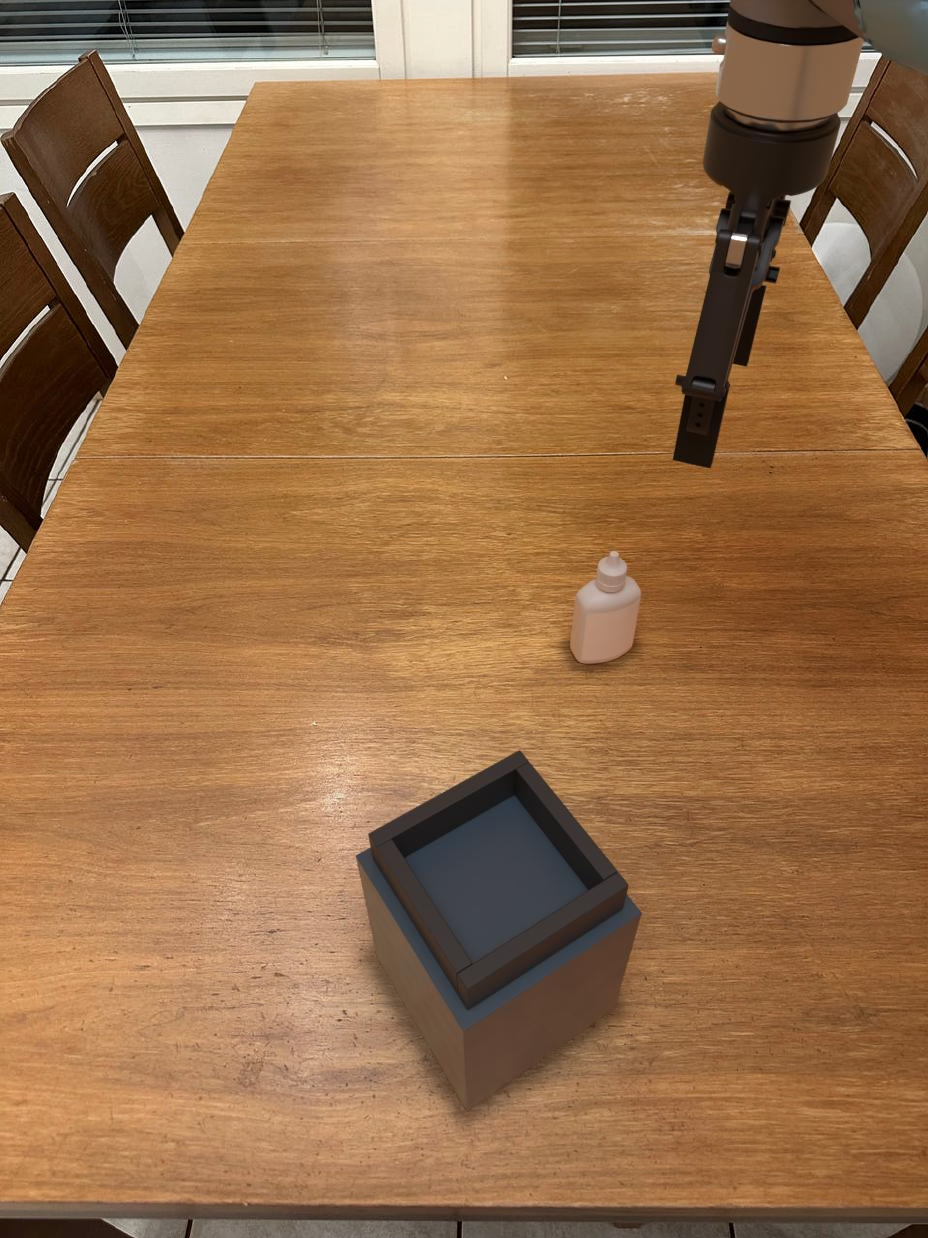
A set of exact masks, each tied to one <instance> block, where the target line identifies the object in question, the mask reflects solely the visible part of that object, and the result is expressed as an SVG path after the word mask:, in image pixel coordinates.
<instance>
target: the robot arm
mask: <svg viewBox="0 0 928 1238" xmlns="http://www.w3.org/2000/svg"><path fill="white" fill-rule="evenodd" d="M729 1H730V2H729V7H728V12H727V18H726V20H727V22H726V26H725V32H724V33H725V34H720V35H715V36H714V39H713V41H712V43H711V50H712V52H713V53H714V54H716V55H719V56H720V55H721V56H723V59H722V61H721V62H720V64H719V68H718V73H717V80H716V86H715V92H714V93H715V97H716V98H717V100H718V102H717V103H716V104H715V105H714V106H713V107H712V108H711V110H710V114H709V115H710V116H709V121H708V127H707V134H706V139H705V144H704V151H703V157H702V166H703V170H704V172H705V174H706V176H707V177H708V178H709V179H710V180H711V181H712V182H713V183H715V184H716V185H718V186H720V187H721V186H722V187H724V188H725V189H727V190H728V191H729V192H728V195H727V198H726V203H725V207H722V208H721V209H720V212H719V215H718V219H717V223H716V226H715V233H716V236H715V240H714V244H715V246H714V249H713V253H712V257H711V261H710V264H709V268H708V269H709V270H708V274H709V278H708V281H707V286H706V290H705V294H704V298H703V303H702V306H701V310H700V315H699V319H698V323H697V328H696V331H695V335H694V340H693V344H692V348H691V352H690V356H689V360H688V364H687V369H686V373H685V375H682V374H676V377H675V382H674V383H675V386H678V387H680V388H681V394H682V395H684V397H683V401H682V408H681V413H680V418H679V423H678V428H677V433H676V439H675V440H676V441H675V445H674V450H673V456H672V461H674V462H679V463H684V464H689V465H693V466H697V467H702V468H705V469H711V468H712V465H713V463H714V458H715V454H716V449H717V444H718V440H719V437H720V432H721V427H722V424H723V418H724V414H725V409H726V405H727V402H728V401H727V400H728V396H729V391H730V387H731V383H730V381H729V380H730V379H729V378H730V376H731V372H732V369H733V368H732V367H733V365H737V366H741V367H746V368H747V367H748V364H749V362H750V357H751V352H752V349H753V345H754V340H755V335H756V332H757V328H758V323H759V319H760V314H761V310H762V308H763V307H762V306H763V302H764V299H765V294H766V290H767V285H764V283H770V284H775V285H776V284H777V280H778V279H779V274H780V270H781V267H780V266H774V265H771V263H773V260H774V259H775V258H776V255H777V250H776V248H777V246H778V244H779V242H780V240H781V235H782V231H783V227H785V226H786V223H787V219H788V216H789V213H790V209H791V205H792V200H791V199H786V196H789V197H794V196H800V195H803V194H806V193H809V192H810V191H812V190H815V189H816V188H817V187H819V186H820V185H821V184H822V183H823V182H824V181H825V179H826V178H827V176H828V174H829V170H830V166H831V163H832V158H833V155H834V151H835V147H836V143H837V140H838V137H839V136H838V135H839V132H840V128H841V125H842V122H841V117H840V116H839V113H840V112H841V111H843V109H844V108H845V107H846V106H847V104H848V102H849V98H850V93H851V90H852V86H853V83H854V79H855V76H856V72H857V68H858V64H859V61H860V58H861V57H860V56H861V53H862V49H863V45H864V42H866V43H867V44H868V45H870V46H871V47H872V48H873V50H874V51H875V52H876V53H879V54H881V55H882V57H883V58H885V59H886V60H887V61H891V62H896V63H897V64H898V65H899V66H900V67H901V68H904V69H908V70H912V71H916V72H919V73H922V75H926V76H928V0H729Z"/></svg>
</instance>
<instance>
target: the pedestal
mask: <svg viewBox="0 0 928 1238" xmlns="http://www.w3.org/2000/svg"><path fill="white" fill-rule="evenodd" d="M367 835H368V841H369V846H370V847H368V848H366V849H365V850H363V851H361V852H360V853H359V852H358V854H356V855H355V859H356V863H357V869H358V874H359V878H360V883H361V888H362V893H363V897H364V903H365V907H366V912H367V916H368V921H369V927H370V931H371V935H372V940H373V941H372V942H373V945H374V951H375V954H376V958H377V960H378V961H379V963H380V965H381V966H382V968H383V970H384V972H385V974H386V976H387V977H388V979H389V981H390V982H391V984H392V986H393V987H394V989H395V991H396V992H397V994H398V996H399V998H400V999H401V1001H402V1003H403V1005H404V1006H405V1008H406V1010H407V1012H408V1013H409V1015H410V1017H411V1018H412V1021H414V1024H415V1025H416V1027H417V1028H418V1030H419V1032H420V1034H421V1035H422V1038H423V1039H424V1041H425V1042H426V1044H427V1046H428V1047H429V1050H430V1051H431V1053H432V1054H433V1056H434V1057H435V1060H436V1061H437V1063H438V1065H439V1066H440V1068H441V1070H442V1071H443V1073H444V1074H445V1075H444V1076H445V1077H446V1078H447V1080H448V1082H449V1083H450V1085H451V1087H452V1089H453V1090H454V1092H455V1094H456V1095H457V1097H458V1099H459V1101H460V1102H461V1104H462V1106H463V1108H464V1110H465V1111H466V1112H469V1111H471V1110H472V1109H474V1107H476V1106H478V1105H479V1104H481V1103H482V1102H483V1101H485V1100H486V1099H488V1098H489V1097H491V1096H492V1095H494V1094H495V1093H496V1092H497V1091H499V1090H501V1089H502V1088H503V1087H505V1086H506V1085H508V1084H509V1083H511V1082H512V1081H513V1080H515V1079H516V1078H518V1077H519V1076H521V1075H522V1074H524V1073H525V1072H526V1071H528V1070H529V1069H531V1068H532V1067H534V1066H535V1065H536V1064H538V1063H540V1061H542V1060H543V1059H545V1058H547V1056H549V1055H551V1054H552V1053H553V1052H555V1051H556V1050H557V1049H559V1048H560V1047H562V1046H564V1045H565V1044H566V1043H568V1042H569V1041H571V1040H572V1039H574V1038H575V1037H576V1036H578V1035H579V1034H580V1033H582V1032H584V1031H585V1030H587V1029H588V1028H589V1027H590V1026H592V1025H594V1024H595V1023H597V1022H598V1021H599V1020H601V1019H603V1018H604V1017H605V1016H606V1015H608V1014H609V1013H610V1012H612V1011H613V1010H615V1009H616V1006H617V1002H618V999H619V996H620V992H621V987H622V985H623V980H624V977H625V974H626V971H627V967H628V964H629V960H630V956H631V954H632V950H633V946H634V942H635V939H636V935H637V932H638V928H639V926H640V921H641V919H642V915H643V912H642V911H641V910H640V909H639V907H638V906H637V905H636V903H635V902H634V901H633V900H632V898H631V897H630V896H629V895H628V890H629V887H630V886H629V885H630V884H629V883H628V882H627V881H626V880H625V878H624V877H623V875H622V874H621V873H620V872H619V871H618V869H617V868H616V866H615V865H614V864H613V863H612V862H611V860H610V859H609V858H608V857H607V855H606V854H605V853H604V852H603V851H602V850H601V848H600V847H599V846H598V844H597V843H596V842H595V840H593V838H592V837H591V836H590V835H589V833H588V832H587V831H586V830H585V828H584V827H583V826H582V824H580V822H579V821H578V820H577V818H576V817H575V816H574V815H573V814H572V812H571V811H570V810H569V808H568V807H567V806H566V805H565V804H564V803H563V801H562V800H561V798H559V796H558V795H557V794H556V793H555V791H554V790H553V789H552V788H551V786H550V785H549V784H548V783H547V782H546V780H545V779H544V778H543V777H542V775H541V774H540V773H539V771H538V770H537V769H536V768H535V767H534V766H533V764H532V763H531V762H530V761H529V759H528V758H527V757H526V756H525V754H524V753H523V752H522V751H521V749H518V750H517V751H515V752H513V753H511V754H509V755H508V756H506V757H504V758H502V759H501V760H499V761H497V762H495V763H493V764H491V765H490V766H487V767H486V768H484V769H483V770H480V771H479V772H476V773H475V774H473V775H472V776H470V777H468V778H466V779H464V780H463V781H461V782H459V783H457V784H455V785H454V786H451V787H450V788H447V789H446V790H444V791H443V792H441V793H439V794H437V795H436V796H435V795H434V797H431V798H430V799H428V800H426V801H425V802H423V803H421V804H419V805H417V806H416V807H414V808H412V809H409V810H408V811H406V812H405V813H402V814H401V815H399V816H397V817H396V818H394V819H392V820H390V821H389V822H387V823H385V824H382V825H381V826H379V827H377V828H376V829H374V830H372V831H370V832H368V833H367Z"/></svg>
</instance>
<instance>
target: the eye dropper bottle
mask: <svg viewBox="0 0 928 1238" xmlns="http://www.w3.org/2000/svg"><path fill="white" fill-rule="evenodd" d="M627 573H628V565H627V562H625V560H624V559H622V558H621V557H620V553H619V552H618V551H616V550H612V551H610V552H609V555H608V556H605V557H603V558H601V559H600V560H599V561H598V564H597V569H596V575H595V576H596V577H595V578H593V579H592V580H591V581H589V582H587V583H585V584H584V585H583V586H582V587H581V588H580V589H579V590H578V591H577V593H576V594H575V597H574V605H573V613H572V620H571V621H572V622H571V629H570V631H571V632H570V641H569V648H570V651H571V653H572V655H573V656H574V659H576V661H577V662H578V663H581V664H586V665H588V664H589V665H590V664H591V665H593V664H594V665H595V664H603V663H607V662H611V661H614V660H616V659H618V658H620V657H622V656H623V655H625V654H626V653H628V652H629V651H630V650H631V649H632V647H633V645H634V641H635V634H636V630H637V624H638V617H639V612H640V606H641V599H642V590H641V588H640V586H639V584H638V583H637V581H636V580H635V579H634V578H633V577H631V576H628V575H627Z"/></svg>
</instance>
